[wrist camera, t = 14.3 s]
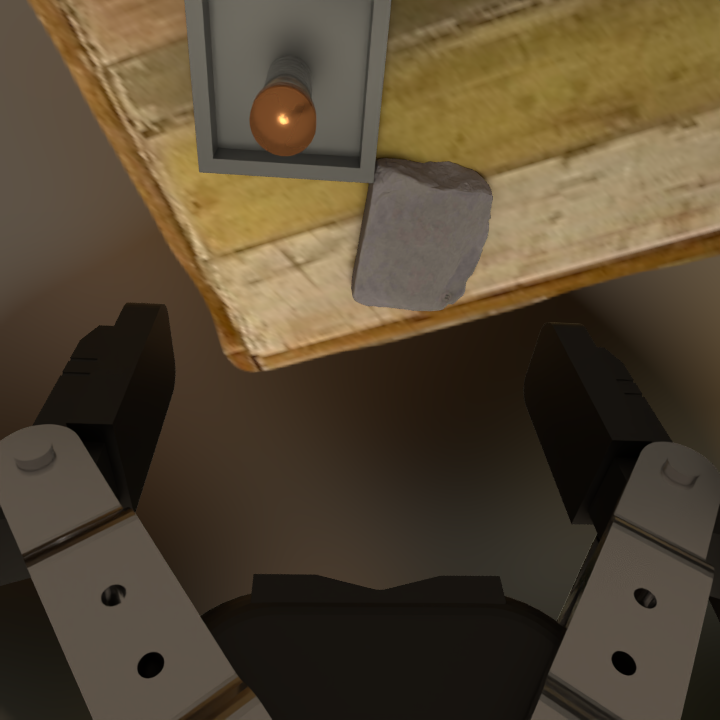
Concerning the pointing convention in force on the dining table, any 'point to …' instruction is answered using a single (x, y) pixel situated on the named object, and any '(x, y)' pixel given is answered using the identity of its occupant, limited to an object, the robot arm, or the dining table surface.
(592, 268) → the dining table surface
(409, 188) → the stone block
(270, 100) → the pin
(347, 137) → the tray
